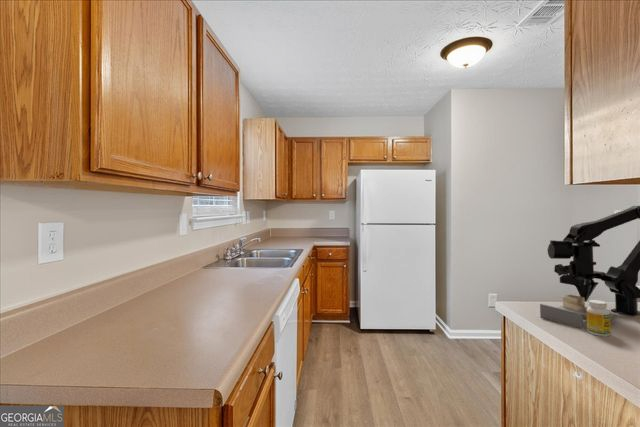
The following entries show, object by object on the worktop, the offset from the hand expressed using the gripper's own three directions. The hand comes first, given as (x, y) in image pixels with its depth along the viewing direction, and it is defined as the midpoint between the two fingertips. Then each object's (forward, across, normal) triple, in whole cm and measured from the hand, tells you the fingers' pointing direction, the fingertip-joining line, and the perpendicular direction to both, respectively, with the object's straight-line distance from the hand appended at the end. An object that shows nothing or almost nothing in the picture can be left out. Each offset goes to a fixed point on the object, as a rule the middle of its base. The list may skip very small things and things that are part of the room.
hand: (584, 301), depth 115 cm
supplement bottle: (+4, +20, +14) cm, 25 cm away
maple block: (+2, +6, 0) cm, 7 cm away
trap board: (+4, +11, +3) cm, 12 cm away
